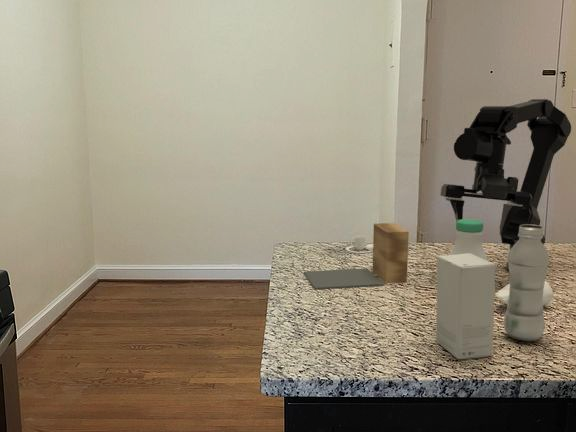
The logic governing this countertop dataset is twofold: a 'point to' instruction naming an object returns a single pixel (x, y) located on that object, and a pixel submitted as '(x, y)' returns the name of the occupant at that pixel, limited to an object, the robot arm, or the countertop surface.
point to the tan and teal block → (390, 252)
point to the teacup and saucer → (360, 244)
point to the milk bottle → (469, 238)
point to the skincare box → (465, 305)
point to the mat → (342, 278)
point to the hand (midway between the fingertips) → (480, 233)
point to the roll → (547, 294)
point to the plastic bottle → (526, 285)
